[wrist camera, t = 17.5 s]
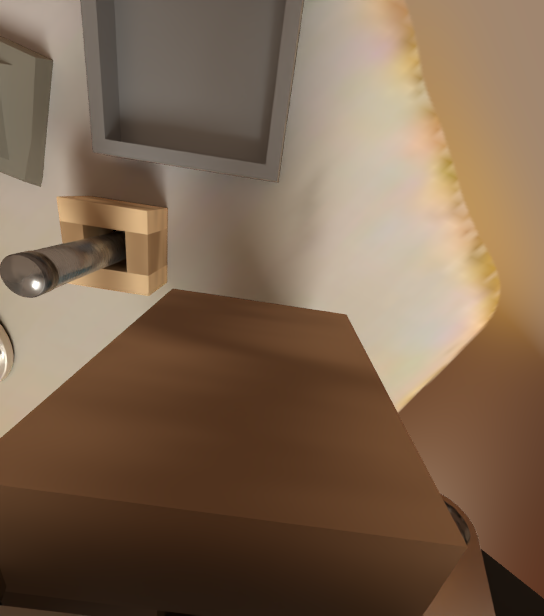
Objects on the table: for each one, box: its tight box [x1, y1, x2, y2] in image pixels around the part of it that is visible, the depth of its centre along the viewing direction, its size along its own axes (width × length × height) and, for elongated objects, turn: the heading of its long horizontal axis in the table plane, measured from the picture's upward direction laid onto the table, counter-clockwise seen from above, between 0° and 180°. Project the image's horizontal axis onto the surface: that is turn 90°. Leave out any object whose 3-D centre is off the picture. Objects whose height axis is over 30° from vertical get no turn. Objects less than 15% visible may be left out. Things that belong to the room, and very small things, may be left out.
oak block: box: [57, 196, 168, 296], centre depth 25 cm, size 7×7×4 cm
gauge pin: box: [0, 230, 126, 298], centre depth 21 cm, size 2×2×12 cm
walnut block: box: [0, 289, 468, 616], centre depth 8 cm, size 6×6×7 cm
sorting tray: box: [80, 0, 304, 182], centre depth 20 cm, size 14×14×3 cm
